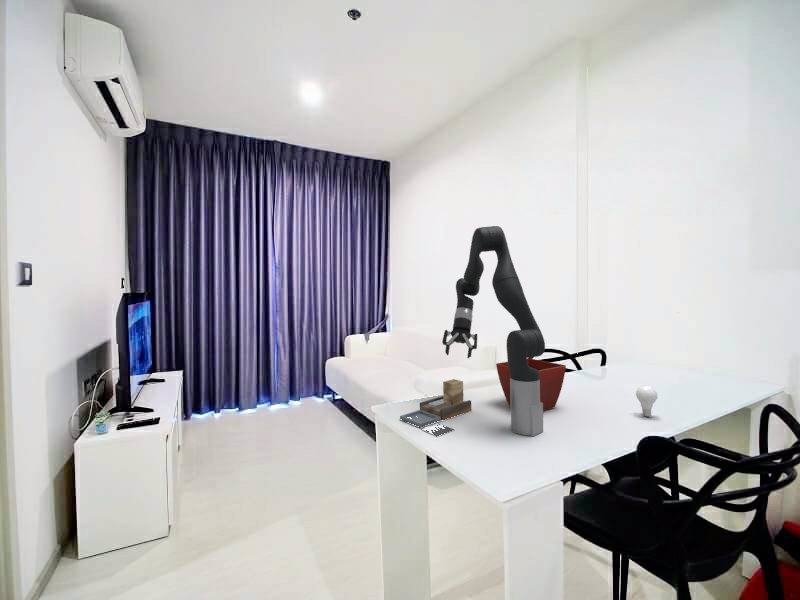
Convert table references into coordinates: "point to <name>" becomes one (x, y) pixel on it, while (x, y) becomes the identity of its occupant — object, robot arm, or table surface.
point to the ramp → (446, 408)
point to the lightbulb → (646, 399)
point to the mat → (441, 430)
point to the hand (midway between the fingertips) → (457, 356)
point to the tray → (420, 418)
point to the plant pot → (548, 380)
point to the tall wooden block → (453, 391)
